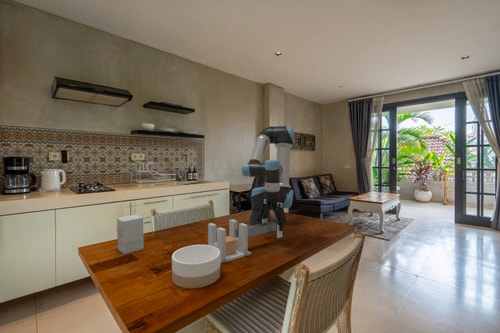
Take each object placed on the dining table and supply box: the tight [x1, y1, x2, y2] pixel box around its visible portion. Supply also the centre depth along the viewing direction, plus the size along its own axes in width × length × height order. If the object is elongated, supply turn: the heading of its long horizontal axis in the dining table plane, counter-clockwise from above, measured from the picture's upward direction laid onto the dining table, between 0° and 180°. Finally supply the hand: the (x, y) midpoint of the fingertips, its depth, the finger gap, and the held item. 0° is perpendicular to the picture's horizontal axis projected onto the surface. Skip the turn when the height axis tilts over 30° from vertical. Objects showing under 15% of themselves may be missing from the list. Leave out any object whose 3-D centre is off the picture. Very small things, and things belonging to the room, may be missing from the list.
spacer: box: [226, 235, 236, 256], centre depth 104 cm, size 6×6×5 cm
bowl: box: [171, 244, 221, 289], centre depth 86 cm, size 17×17×8 cm
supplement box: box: [116, 214, 145, 255], centre depth 110 cm, size 9×9×15 cm
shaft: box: [236, 219, 281, 238], centre depth 115 cm, size 24×5×5 cm, turn 126°
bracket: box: [207, 218, 252, 265], centre depth 104 cm, size 17×12×14 cm
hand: (271, 234), depth 120 cm, fingers open, 10 cm apart
